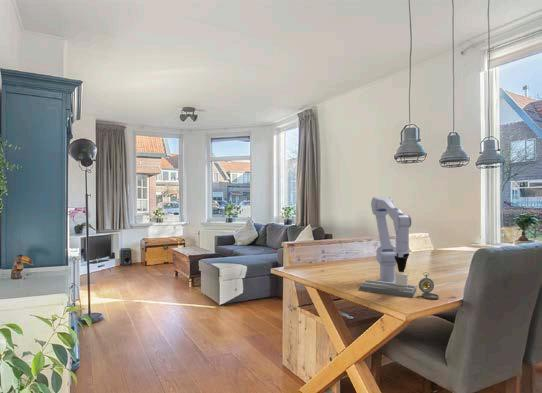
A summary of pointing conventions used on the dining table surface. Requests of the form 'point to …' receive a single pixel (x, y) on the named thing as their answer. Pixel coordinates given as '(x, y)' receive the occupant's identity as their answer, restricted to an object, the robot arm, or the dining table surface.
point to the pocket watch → (425, 283)
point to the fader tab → (401, 280)
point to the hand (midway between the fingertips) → (402, 270)
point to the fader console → (388, 288)
